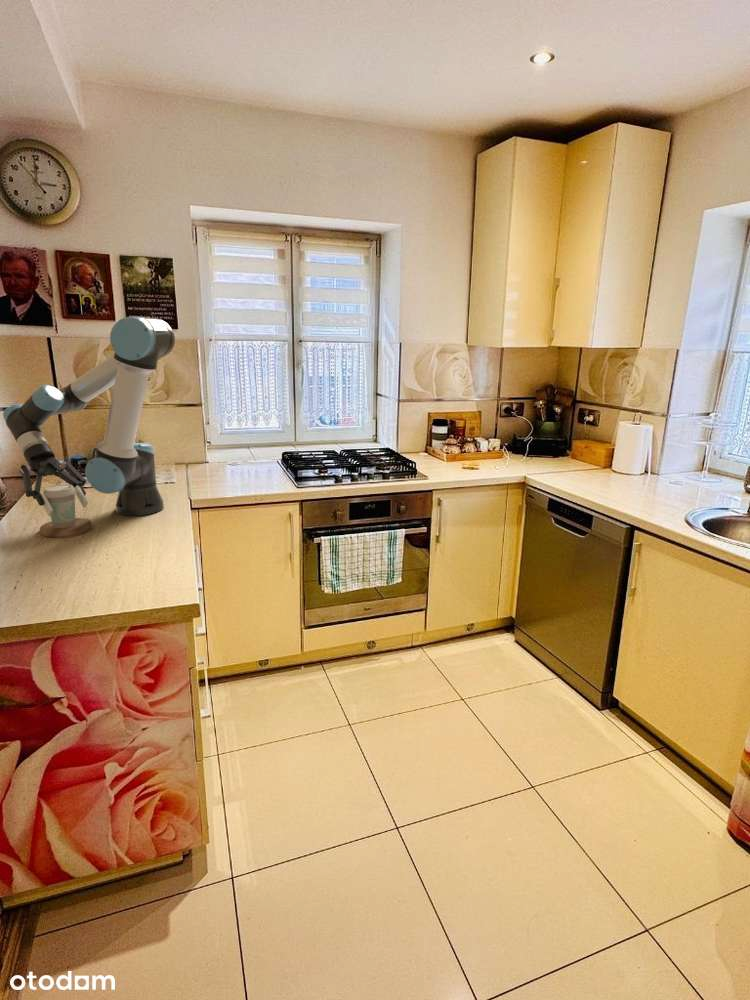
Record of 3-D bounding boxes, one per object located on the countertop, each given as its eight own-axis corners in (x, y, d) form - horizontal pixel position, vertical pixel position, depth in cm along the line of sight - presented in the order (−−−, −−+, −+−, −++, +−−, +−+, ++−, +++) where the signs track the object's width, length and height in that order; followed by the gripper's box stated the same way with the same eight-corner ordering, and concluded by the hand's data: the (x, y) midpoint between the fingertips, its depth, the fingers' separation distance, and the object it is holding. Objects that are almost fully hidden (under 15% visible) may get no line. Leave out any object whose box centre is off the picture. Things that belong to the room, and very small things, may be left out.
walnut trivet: (99, 522, 177) (99, 518, 176) (80, 537, 163) (79, 533, 163) (54, 522, 176) (53, 518, 175) (31, 538, 162) (30, 533, 162)
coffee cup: (54, 532, 163) (48, 493, 160) (44, 525, 169) (38, 487, 165) (84, 525, 169) (79, 487, 166) (74, 519, 175) (68, 482, 171)
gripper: (69, 451, 181) (101, 507, 177) (-7, 462, 164) (25, 524, 159) (76, 437, 176) (108, 494, 172) (-3, 447, 159) (31, 510, 155)
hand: (68, 508), depth 166 cm, fingers open, 10 cm apart
